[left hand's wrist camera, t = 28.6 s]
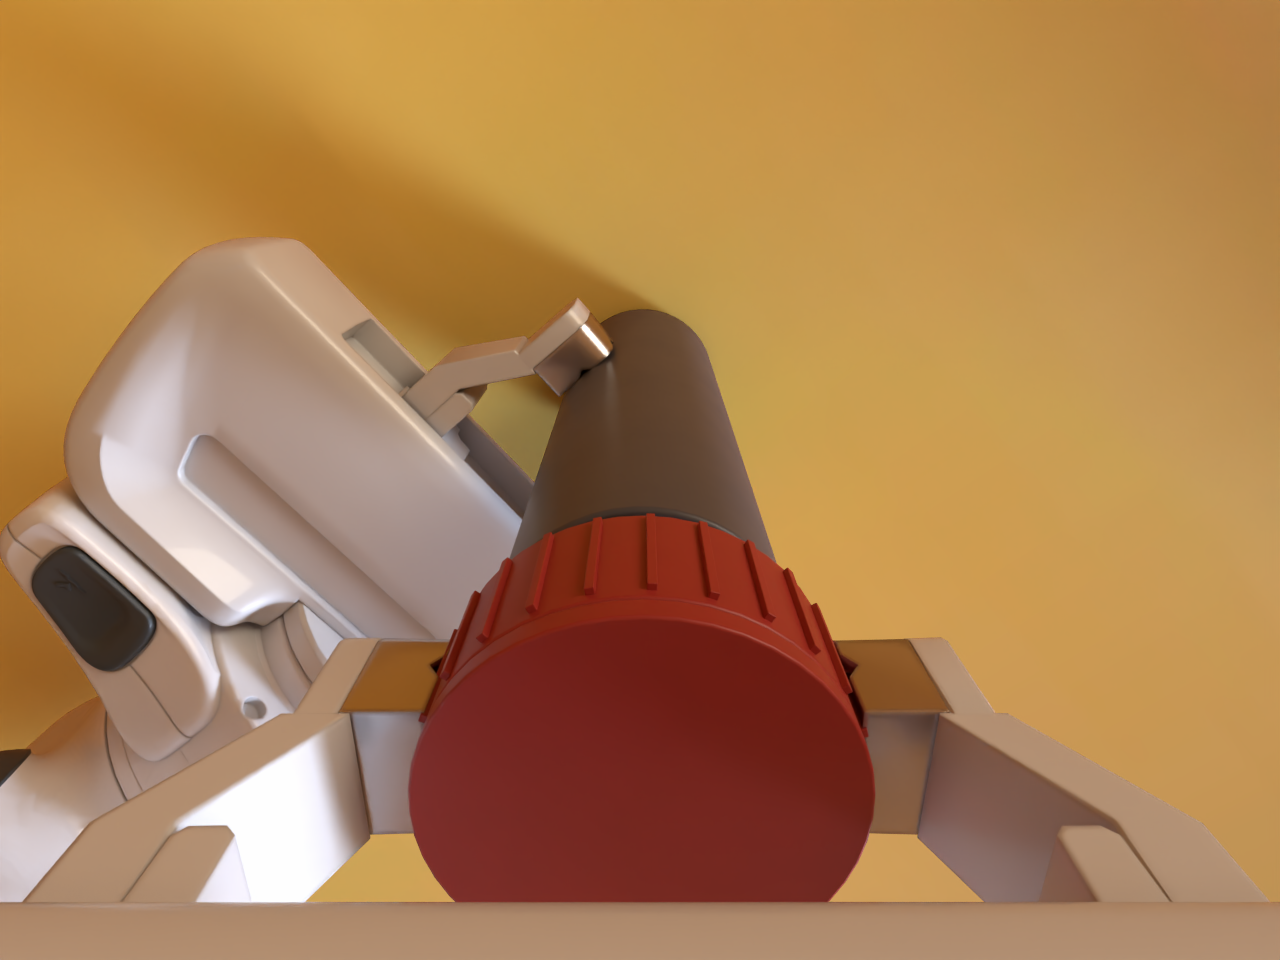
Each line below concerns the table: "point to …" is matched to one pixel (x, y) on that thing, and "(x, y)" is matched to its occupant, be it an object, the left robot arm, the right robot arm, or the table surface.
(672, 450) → the jar
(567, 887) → the lid
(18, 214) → the table surface
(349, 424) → the right robot arm
